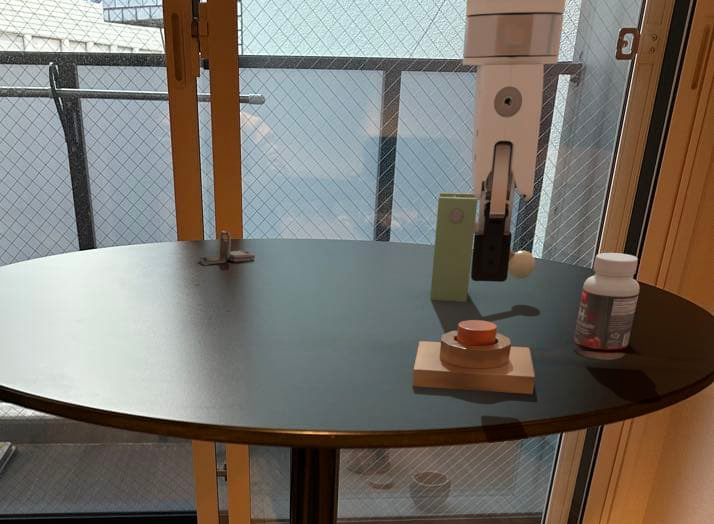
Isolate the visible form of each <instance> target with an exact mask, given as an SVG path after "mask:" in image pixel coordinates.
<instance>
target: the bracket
mask: <svg viewBox="0 0 714 524" xmlns="http://www.w3.org/2000/svg"><path fill="white" fill-rule="evenodd" d="M454 195H456V196H457V197H453V196H454ZM478 201H479V200H478V199H477V198H476V197H475V196H474V192H451V191H449V192H448V191H446V192H445V191H440V192H439V196H438V203H437V215H436V216H437V217H436V226H435V236H434V239H435V240H434V250H433V262H432V274H431V286H430V297H429V299H430V301H432V300H433V301H446V302H447V301H448V302H449V301H450V302H464V303H465V302H467V301H468V292H469V282H470V276H471V266H472V257H473V246H474V234H475V233H474V228H475V221H476V217H477V209H478Z"/></svg>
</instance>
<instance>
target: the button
mask: <svg viewBox="0 0 714 524" xmlns="http://www.w3.org/2000/svg"><path fill="white" fill-rule="evenodd" d="M457 330H458V331H457ZM457 330H456V331H457V342H458V343H461V344H465V345H470V346H490V345H494V344H495V338H496V333H497V330H498V326H497V324H496V323H494V322H491V321H487V320H479V319H469V320H468V319H467V320H462V321H459V322H458V324H457Z"/></svg>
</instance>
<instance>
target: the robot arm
mask: <svg viewBox="0 0 714 524" xmlns="http://www.w3.org/2000/svg"><path fill="white" fill-rule="evenodd" d="M565 7H566V0H466V9H465V10H466V11H465V25H464V36H463V37H464V38H463V50H462V51H463V53H462V54H463V55H462V63H461V64H462V65H461V66H476V80H475V90H474V91H475V93H474V103H473V104H474V106H473V121H472V122H473V123H472V140H471V141H472V143H471V172H472V173H471V175H472V190H473V193H474V196H475V197H476V198H477V199H478V200H477V201H479V207H478V208H479V209H478V219H477V220H478V221H477V222H478V231H475V233H474V237H473V247H472V257H471V268H470V278H471V281H474V282H498V283H502V282H506V280H507V279H508V273H509V271H508V265H509V256H510V249H511V245H512V238H513V237H512V235H513V234H512V231H511V225H512V216H513V210H514V209H513V207H514V203H515V200H514V199H515V191H516V190H517V193H518V195H519V196H520V195H521V197H522V199H523V201H524V202H528V201H529V200H531V199H532V198H533V196H534V187H535V176H536V165H537V154H538V146H539V137H540V129H541V128H540V126H541V117H542V108H543V107H542V106H543V93H544V71H545V69H544V67H545V65H556V64H558V63H559V54H560V47H561V38H562V31H563V23H564V14H565Z"/></svg>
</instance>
